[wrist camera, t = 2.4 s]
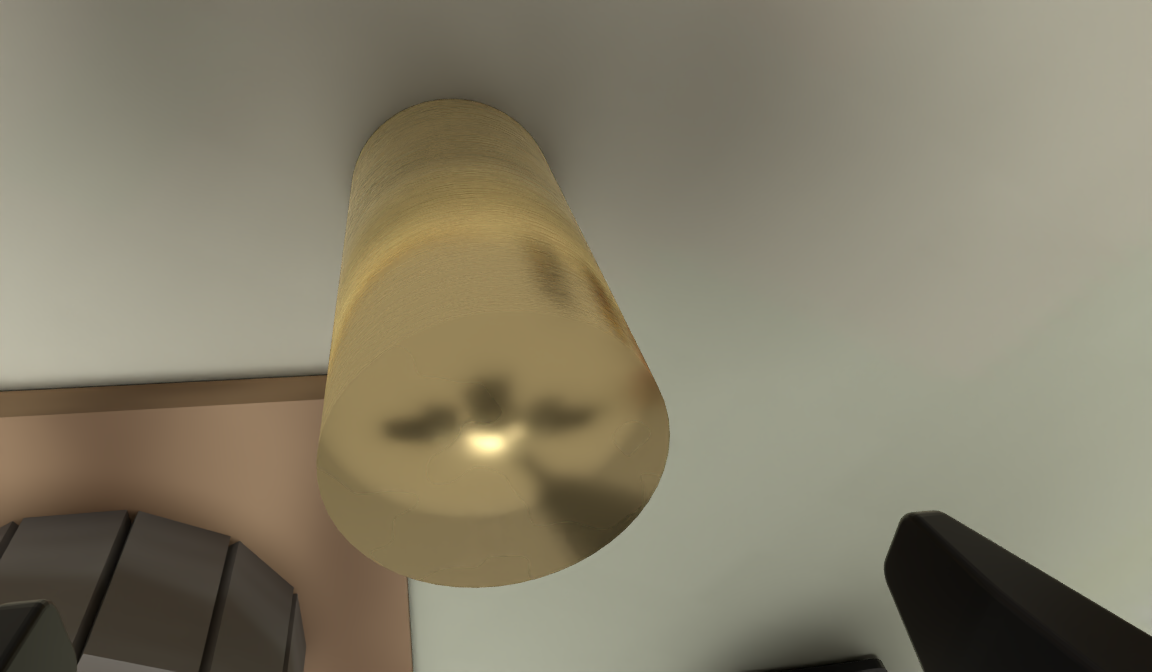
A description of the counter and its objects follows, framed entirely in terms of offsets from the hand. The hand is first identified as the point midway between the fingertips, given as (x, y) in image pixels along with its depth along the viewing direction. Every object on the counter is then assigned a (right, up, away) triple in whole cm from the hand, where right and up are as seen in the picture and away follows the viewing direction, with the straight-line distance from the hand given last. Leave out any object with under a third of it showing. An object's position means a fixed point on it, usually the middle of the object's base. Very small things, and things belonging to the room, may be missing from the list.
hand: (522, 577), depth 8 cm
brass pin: (-2, +6, +9) cm, 11 cm away
